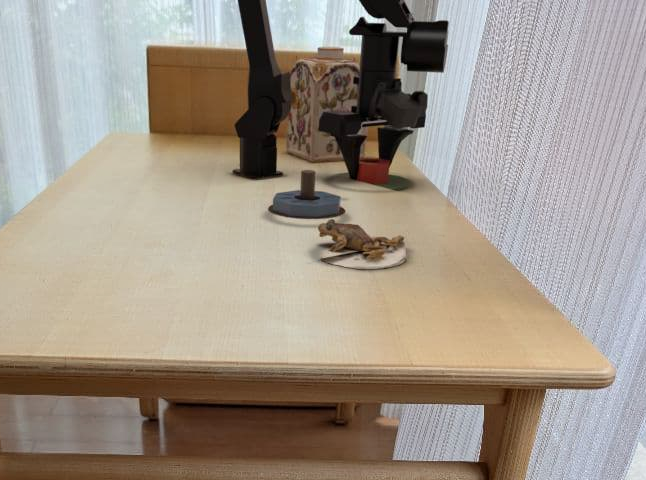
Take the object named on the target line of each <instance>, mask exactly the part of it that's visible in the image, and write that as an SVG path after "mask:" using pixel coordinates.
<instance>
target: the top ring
mask: <svg viewBox="0 0 646 480" xmlns="http://www.w3.org/2000/svg"><path fill="white" fill-rule="evenodd" d="M389 165H390V160H386V159H381V158H379V157H369V156H368V157H366V156H364V157H361V158H360V159H359V169H358V175H357V179H356V180H355V181H357V182H360V183H364V184H369V185H372V184H383V183H388V175H389V174H390V168H389ZM390 166H391V165H390ZM348 180H352V179H351V178H350V176H349V178H348Z"/></svg>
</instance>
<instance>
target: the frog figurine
mask: <svg viewBox="0 0 646 480" xmlns="http://www.w3.org/2000/svg"><path fill="white" fill-rule="evenodd" d="M317 230H318V232H319V234H318V236H319V238H324V237H328V236H329V237H331V241H332V242H334V243H335V244H332V245H331V247H330V248H328V249H327V252H332V253H336V252H339V250H342V249H343V248H345V249H349V250H353V251H351V252H347V253H342V254H336V255H332V256H331V255H330V256H327V257H322V258H321V257H320V258H319V260H320V261H322V262H325V263H327V264H329V265H335V266H341V267H344V268H350V269H355V270H356V269H357V270H378V269H381V270H382V269H385V268H392V267H396V266H400V265H402V264H404V263H405V262H406V259H407V257H408V256H409V255H408V253H407V250H408V249H407V248H406V245H405V241H404V239H405V237H404V236H403V235H397V236H396V237H392V239H389V238H388V237H386V236H370V235H369V234H368V233H367V232H366V231H365V230H364V228H363V227H361V226H360V225H359V224H355V223H341V222H340V223H338V222H336V220H335V219H333V218H329V219H328V220H327V222H323V223H320V224H319V225H318V226H317ZM381 244H385V245H381Z"/></svg>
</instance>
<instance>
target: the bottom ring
mask: <svg viewBox="0 0 646 480" xmlns="http://www.w3.org/2000/svg"><path fill="white" fill-rule="evenodd" d="M341 200H342V196H340V195H338V194H333V193H330V192H327V191H321V190H315V195H314V200H312V201H309V200H300V189H295V190H288V191H281V192H276V193H275V195H274V196H273V198H272V205H273V211H276V212H279V213H282V214H285V215H288V216H296V217H314V218H318V217H324V216H330V215H336V214H338V213H339V209H340V207H341Z"/></svg>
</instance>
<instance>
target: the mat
mask: <svg viewBox="0 0 646 480" xmlns="http://www.w3.org/2000/svg"><path fill="white" fill-rule="evenodd" d="M333 175H334V176H338V177H341V178H344V179H349V173H348V172H339V173H334V174H333ZM371 185H372V186H376V187H380V188H384V189H388V190H391V191H396V192H397V191H402V190H406V189H408V188H409V187H411V180H410V179H408V178H405V177H403V176H400V175H395V174H390V173H389V175H388V183H383V184H371Z"/></svg>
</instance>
